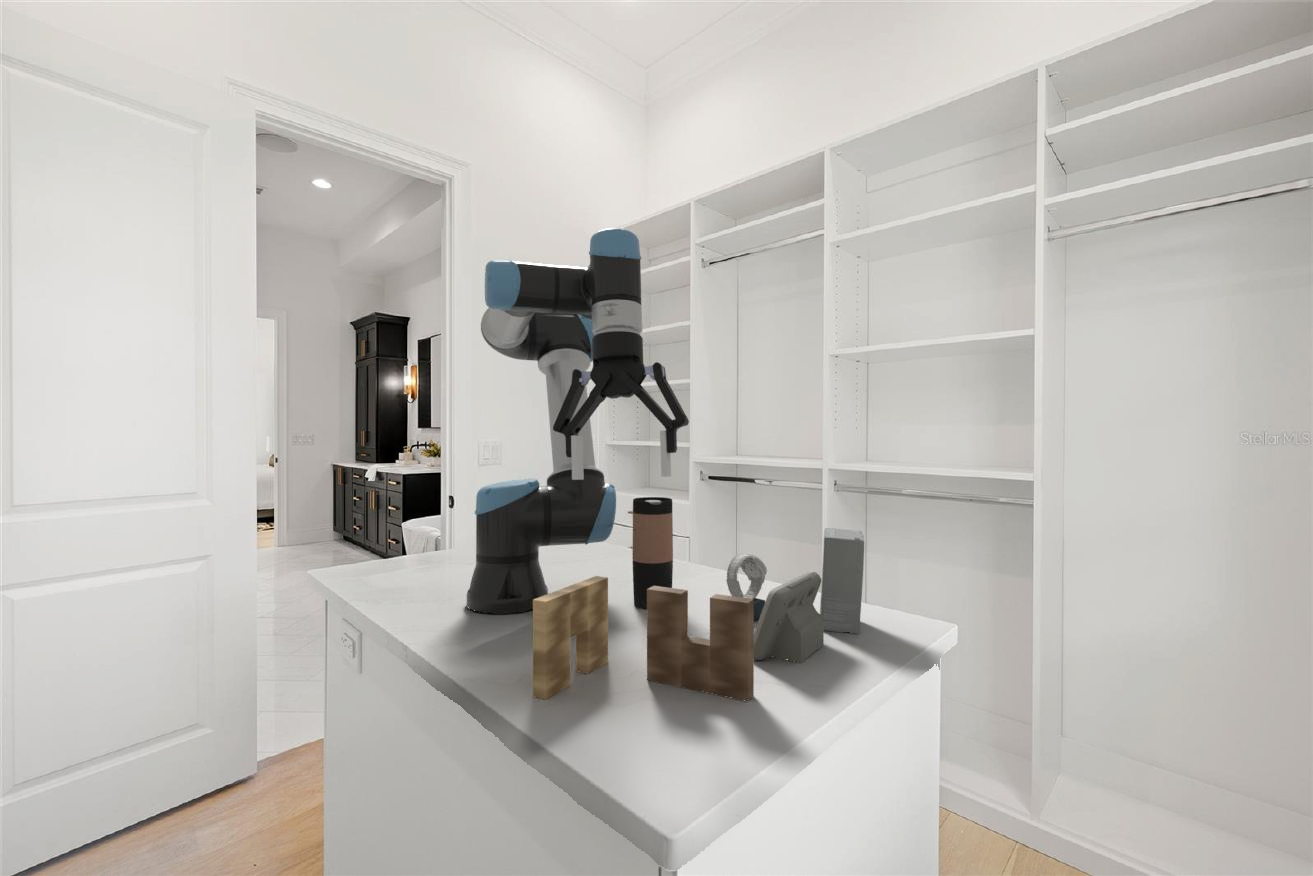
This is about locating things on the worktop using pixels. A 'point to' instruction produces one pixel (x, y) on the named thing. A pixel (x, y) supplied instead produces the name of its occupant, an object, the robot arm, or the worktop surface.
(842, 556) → the skincare box
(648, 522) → the travel mug
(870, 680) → the worktop surface
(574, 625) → the notched board
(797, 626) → the digital clock
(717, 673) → the notched stand
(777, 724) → the worktop surface
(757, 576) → the watch
